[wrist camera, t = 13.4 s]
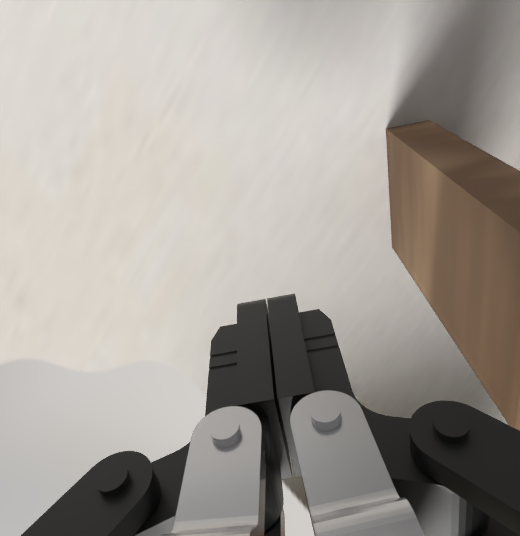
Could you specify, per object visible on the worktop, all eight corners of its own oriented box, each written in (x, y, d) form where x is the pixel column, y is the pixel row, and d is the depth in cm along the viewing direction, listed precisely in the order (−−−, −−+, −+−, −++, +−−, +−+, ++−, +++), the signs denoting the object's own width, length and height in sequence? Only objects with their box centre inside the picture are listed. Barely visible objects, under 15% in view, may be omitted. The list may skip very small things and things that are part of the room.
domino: (428, 120, 17) (625, 230, 8) (429, 240, 20) (583, 422, 11) (385, 128, 17) (536, 245, 9) (392, 247, 20) (514, 433, 11)
